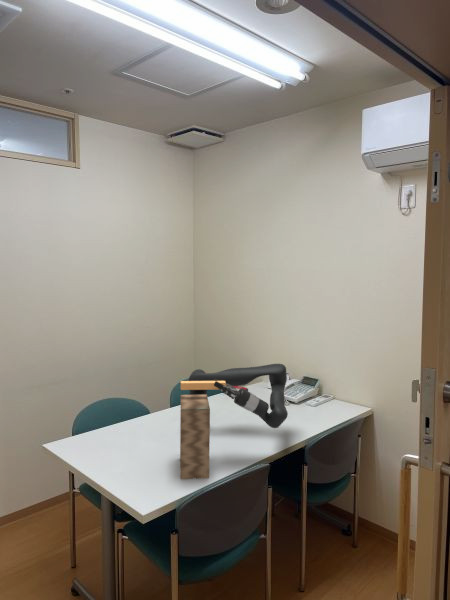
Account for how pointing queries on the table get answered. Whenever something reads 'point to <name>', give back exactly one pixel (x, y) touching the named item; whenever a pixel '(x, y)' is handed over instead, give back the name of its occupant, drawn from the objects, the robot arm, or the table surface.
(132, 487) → the table surface
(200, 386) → the rod
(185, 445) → the stand
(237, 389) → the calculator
